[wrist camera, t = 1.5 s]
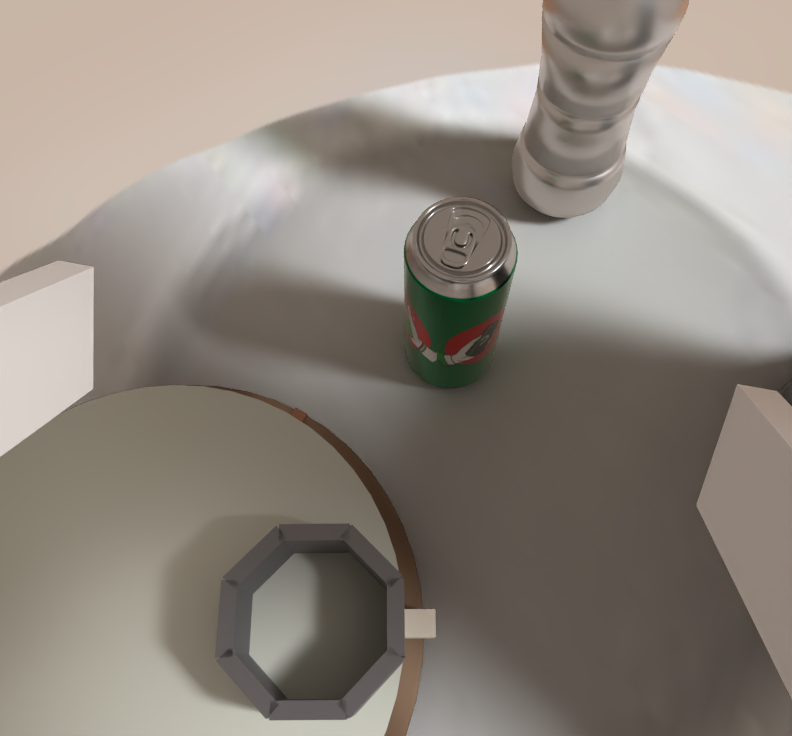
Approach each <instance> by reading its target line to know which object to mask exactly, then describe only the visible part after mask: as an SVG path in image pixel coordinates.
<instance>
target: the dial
mask: <svg viewBox="0 0 792 736" xmlns="http://www.w3.org/2000/svg"><path fill="white" fill-rule="evenodd" d="M416 638H436V615H435V609H405V604H404V578H403V576H402V574H401V573H400V572H399V570H398V565H397V560H396V555H395V552H394V549H393V546H392V543H391V540H390V537H389V534H388V531H387V528H386V525H385V523H384V521H383V519H382V517H381V515H380V513H379V511H378V509H377V507H376V505H375V503H374V501H373V499H372V497H371V495H370V493H369V492H368V490H367V489H366V487H365V486H364V484H363V483H362V481H361V480H360V478H359V477H358V475H357V474H356V472H355V471H354V470H353V468H352V467H351V466H350V465H349V464H348V463H347V462H346V461H345V459H344V458H343V457H342V456H341V455H340V454H339V453H338V452H337V451H336V449H335V448H334V447H333V446H332V445H330V444H329V443H328V442H327V441H326V440H325V439H323V438H322V437H321V436H320V435H319V434H317V433H316V432H315V431H314V430H313V429H312V428H310V427H309V426H307V425H306V424H304V423H302V422H301V421H299V420H298V419H296V418H295V417H293V416H291V415H290V414H288V413H287V412H285V411H283V410H281V409H278V408H276V407H274V406H272V405H270V404H268V403H265V402H263V401H261V400H258V399H255V398H252V397H249V396H246V395H242V394H239V393H236V392H233V391H227V390H222V389H216V388H210V387H205V386H186V385H167V386H153V387H143V388H138V389H133V390H127V391H122V392H117V393H113V394H110V395H107V396H104V397H100V398H97V399H94V400H91V401H88V402H85V403H83V404H80V405H78V406H76V407H74V408H71V409H69V410H67V411H65V412H62V413H60V414H58V415H57V416H55V417H54V418H53V419H51V420H50V421H49V422H47V423H46V424H45V425H43V426H42V427H40V428H39V429H38V430H36V431H35V432H34V433H32V434H31V435H29V436H28V437H27V438H25V439H24V440H23V441H21V442H20V443H19V444H17V445H16V446H14V447H13V448H12V449H10V450H9V451H8V452H6V453H5V454H3V455H2V456H1V457H0V736H384V735H385V732H386V730H387V727H388V724H389V720H390V717H391V714H392V710H393V707H394V704H395V701H396V697H397V693H398V687H399V682H400V676H401V670H402V664H403V662H404V660H403V658H405V639H416Z"/></svg>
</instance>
